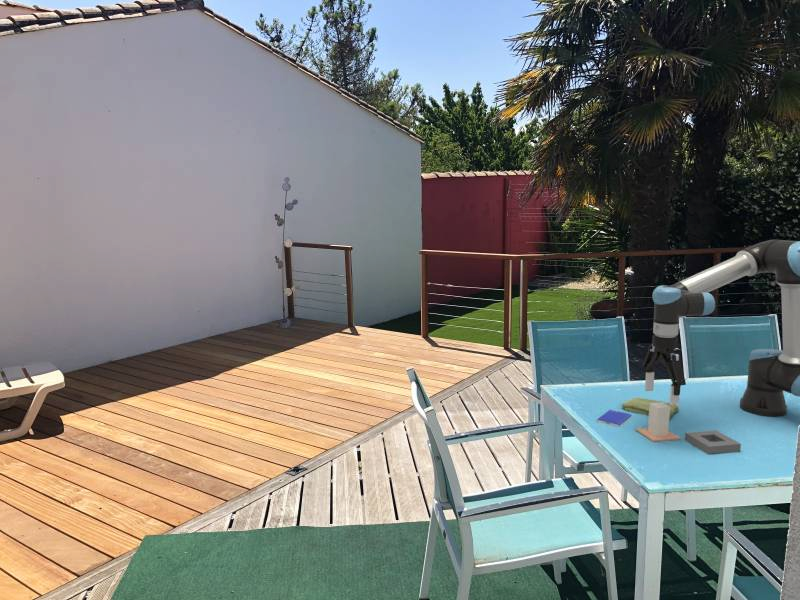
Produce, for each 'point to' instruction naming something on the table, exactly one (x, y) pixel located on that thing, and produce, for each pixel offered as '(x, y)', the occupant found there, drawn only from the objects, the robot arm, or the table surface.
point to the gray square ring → (712, 442)
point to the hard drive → (614, 418)
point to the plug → (658, 419)
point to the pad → (657, 438)
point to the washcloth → (645, 406)
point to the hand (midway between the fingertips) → (661, 397)
